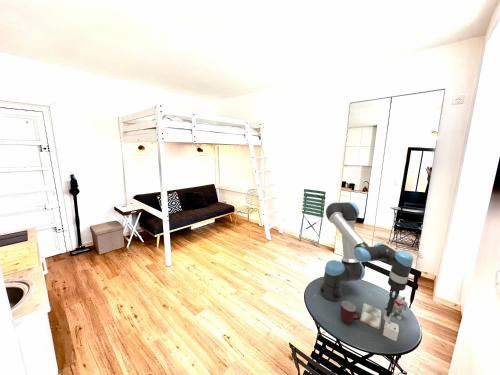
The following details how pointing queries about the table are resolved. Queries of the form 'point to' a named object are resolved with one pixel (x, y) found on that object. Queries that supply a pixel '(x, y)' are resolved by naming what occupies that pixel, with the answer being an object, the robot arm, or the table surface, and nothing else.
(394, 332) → the die
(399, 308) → the figurine
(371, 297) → the table surface
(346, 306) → the mug
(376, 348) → the table surface
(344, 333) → the table surface
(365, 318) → the board
